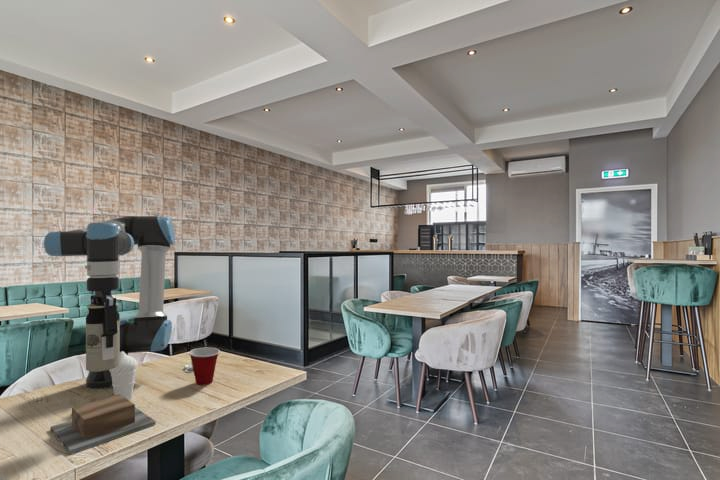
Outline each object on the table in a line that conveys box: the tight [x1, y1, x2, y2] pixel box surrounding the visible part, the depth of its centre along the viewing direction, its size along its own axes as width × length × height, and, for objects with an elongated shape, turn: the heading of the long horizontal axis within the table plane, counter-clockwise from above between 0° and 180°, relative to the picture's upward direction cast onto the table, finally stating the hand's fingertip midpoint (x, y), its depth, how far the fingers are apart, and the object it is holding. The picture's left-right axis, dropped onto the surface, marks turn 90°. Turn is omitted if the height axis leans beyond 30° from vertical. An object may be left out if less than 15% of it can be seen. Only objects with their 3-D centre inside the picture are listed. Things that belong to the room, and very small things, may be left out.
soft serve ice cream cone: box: [109, 351, 139, 401], centre depth 128 cm, size 8×8×16 cm
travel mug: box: [85, 302, 121, 372], centre depth 108 cm, size 8×8×18 cm
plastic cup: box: [189, 347, 221, 386], centre depth 142 cm, size 11×11×12 cm
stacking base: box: [49, 394, 157, 455], centre depth 107 cm, size 20×20×6 cm
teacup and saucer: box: [183, 360, 194, 374], centre depth 158 cm, size 9×8×4 cm
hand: (103, 356), depth 108 cm, fingers closed on travel mug, 8 cm apart
